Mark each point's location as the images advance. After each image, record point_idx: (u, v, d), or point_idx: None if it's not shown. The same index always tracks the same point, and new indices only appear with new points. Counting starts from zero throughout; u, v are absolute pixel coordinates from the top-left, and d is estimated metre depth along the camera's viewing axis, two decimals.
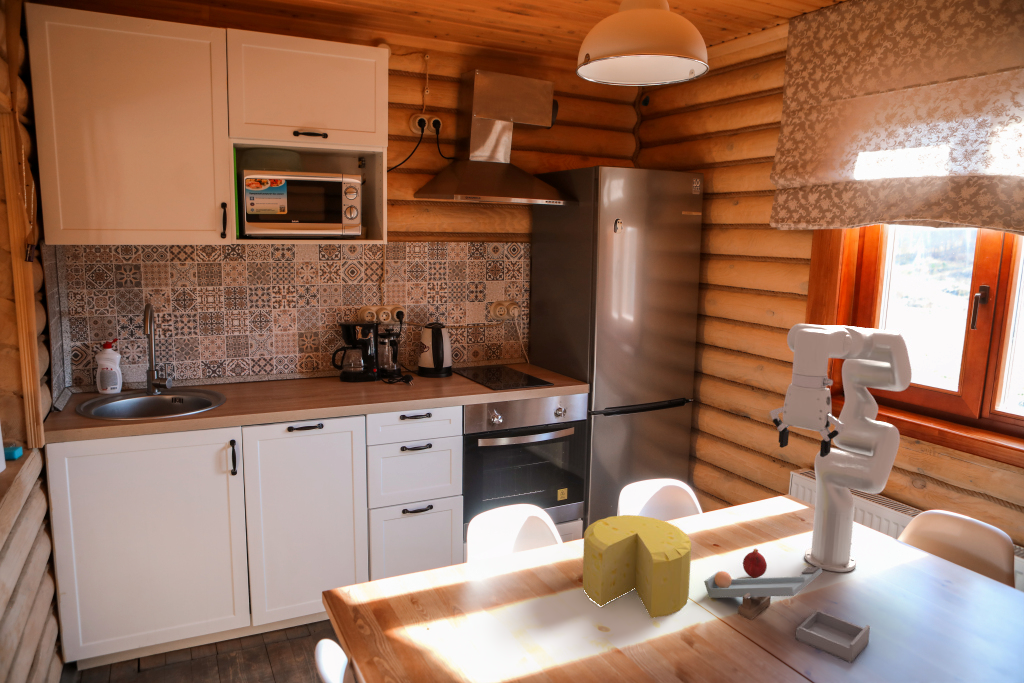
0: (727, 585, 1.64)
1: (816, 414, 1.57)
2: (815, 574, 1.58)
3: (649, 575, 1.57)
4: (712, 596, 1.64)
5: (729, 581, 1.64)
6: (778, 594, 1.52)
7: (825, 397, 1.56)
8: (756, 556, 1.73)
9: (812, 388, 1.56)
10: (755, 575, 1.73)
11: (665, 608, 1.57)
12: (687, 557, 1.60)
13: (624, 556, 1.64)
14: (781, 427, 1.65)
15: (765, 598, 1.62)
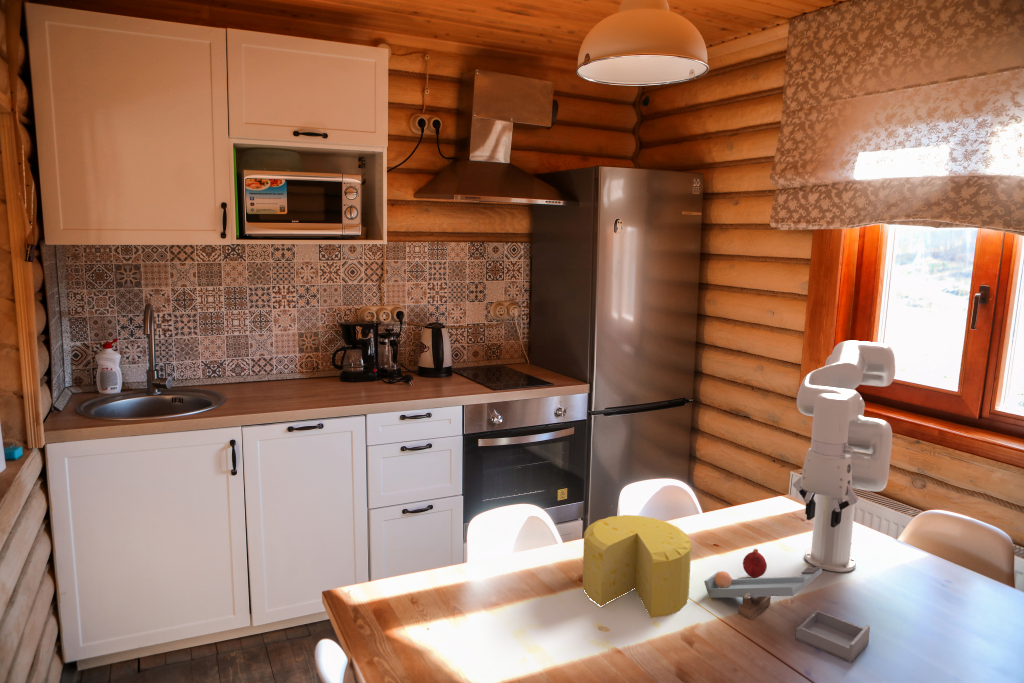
0: (727, 585, 1.64)
1: (836, 482, 1.53)
2: (815, 574, 1.58)
3: (649, 575, 1.57)
4: (712, 596, 1.64)
5: (729, 581, 1.64)
6: (778, 594, 1.52)
7: (846, 465, 1.53)
8: (756, 556, 1.73)
9: (832, 456, 1.53)
10: (755, 575, 1.73)
11: (665, 608, 1.57)
12: (687, 557, 1.60)
13: (624, 556, 1.64)
14: (807, 498, 1.60)
15: (765, 598, 1.62)
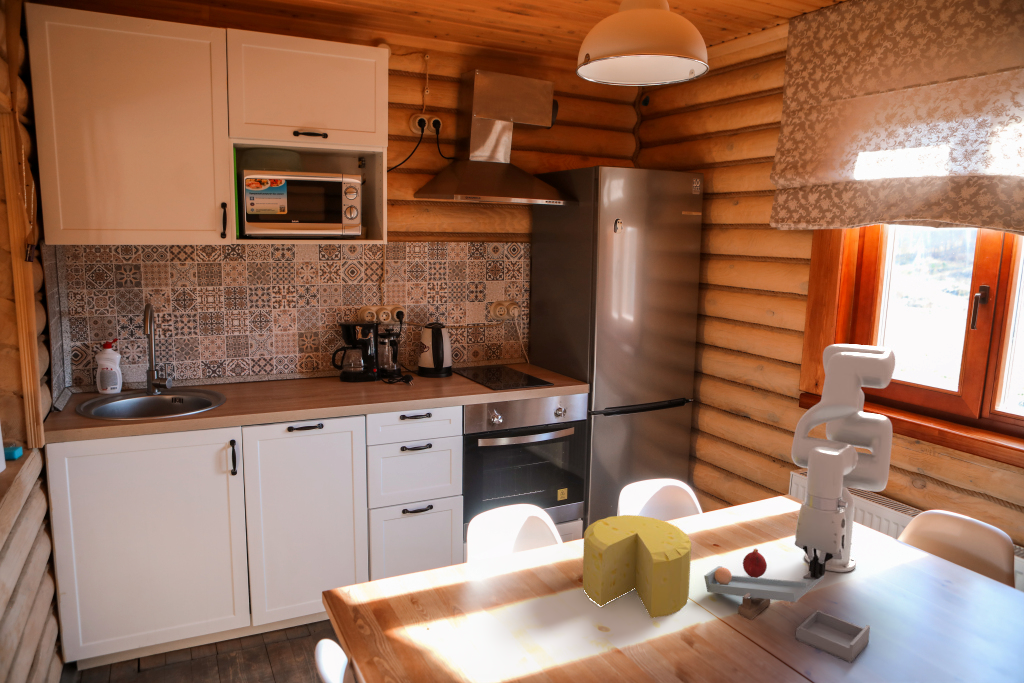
0: (727, 582, 1.64)
1: (831, 537, 1.53)
2: (817, 580, 1.58)
3: (649, 575, 1.57)
4: (711, 591, 1.65)
5: (729, 578, 1.64)
6: (779, 598, 1.52)
7: (840, 520, 1.53)
8: (756, 556, 1.73)
9: (827, 511, 1.53)
10: (755, 575, 1.73)
11: (665, 608, 1.57)
12: (687, 557, 1.60)
13: (624, 556, 1.64)
14: (810, 555, 1.58)
15: None
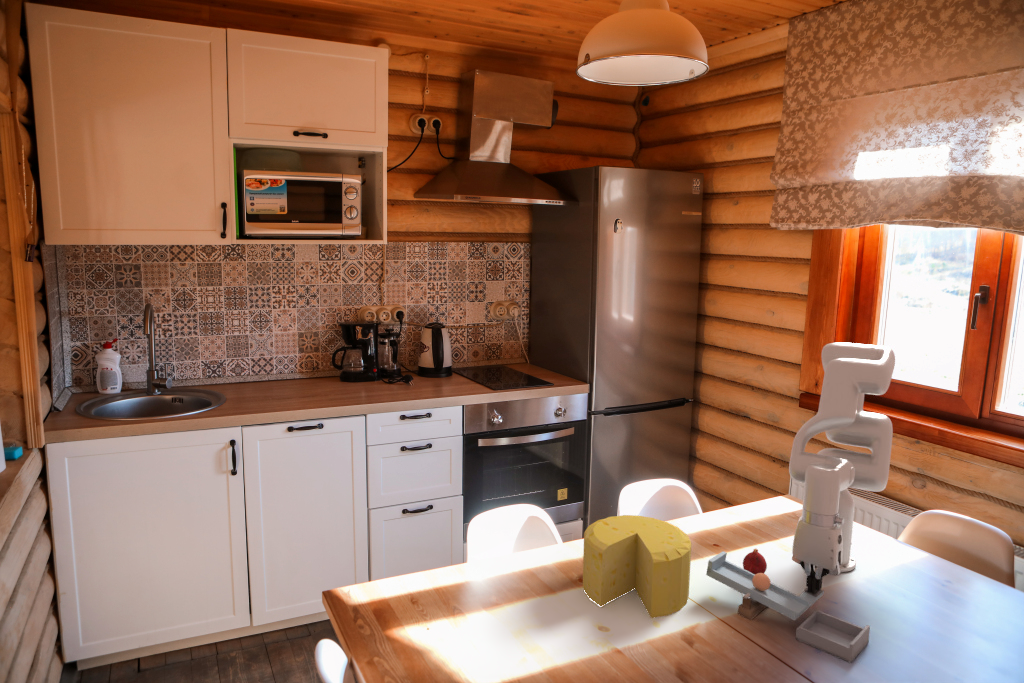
0: (763, 578, 1.57)
1: (827, 553, 1.54)
2: (817, 597, 1.58)
3: (649, 575, 1.57)
4: (710, 576, 1.64)
5: (761, 574, 1.58)
6: (779, 610, 1.52)
7: (836, 536, 1.53)
8: (756, 556, 1.73)
9: (823, 527, 1.53)
10: None
11: (665, 608, 1.57)
12: (687, 557, 1.60)
13: (624, 556, 1.64)
14: (807, 570, 1.59)
15: None
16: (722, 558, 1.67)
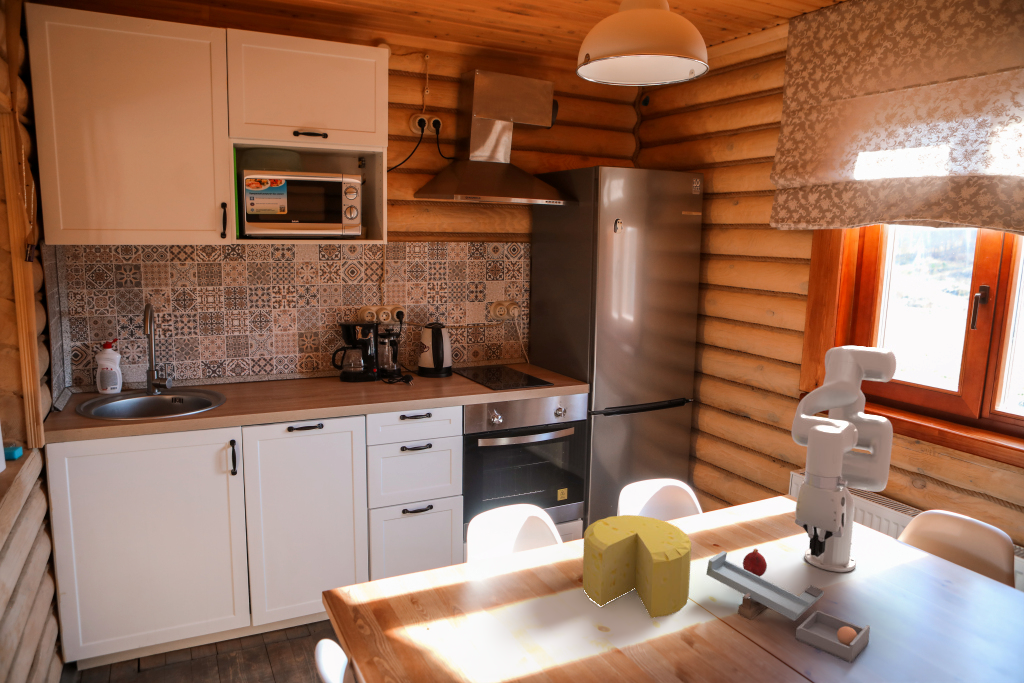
0: (837, 636, 1.46)
1: (830, 515, 1.53)
2: (817, 598, 1.59)
3: (649, 575, 1.57)
4: (710, 575, 1.64)
5: None
6: (779, 611, 1.52)
7: (840, 498, 1.52)
8: (756, 556, 1.73)
9: (826, 489, 1.52)
10: None
11: (665, 608, 1.57)
12: (687, 557, 1.60)
13: (624, 556, 1.64)
14: (810, 533, 1.58)
15: None
16: (722, 558, 1.67)
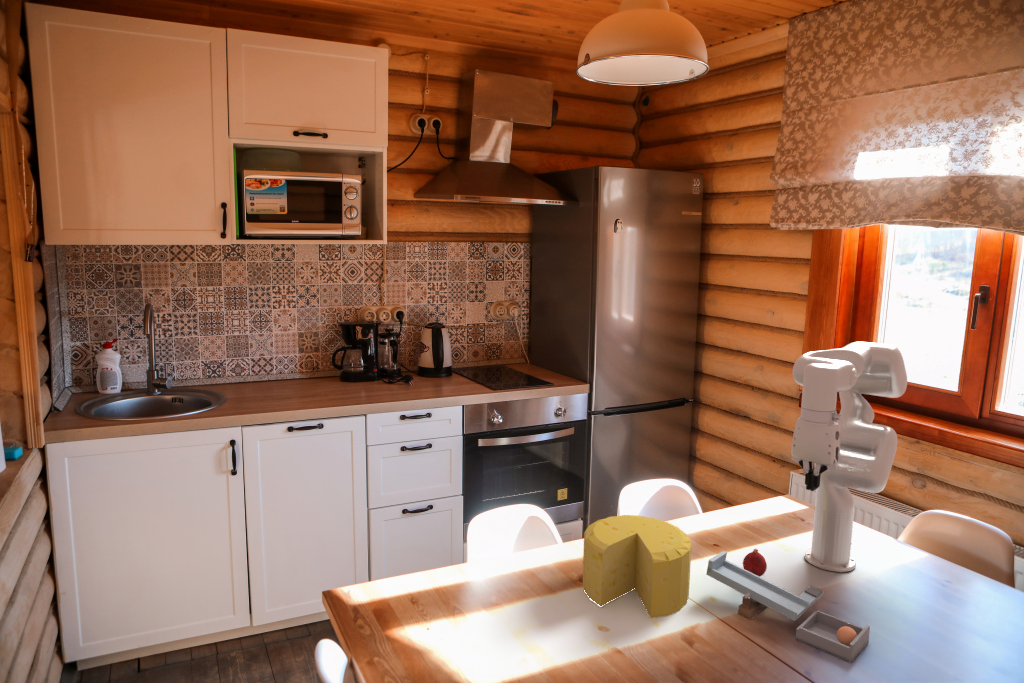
0: (837, 636, 1.46)
1: (825, 449, 1.58)
2: (817, 598, 1.59)
3: (649, 575, 1.57)
4: (710, 575, 1.64)
5: None
6: (779, 611, 1.52)
7: (834, 432, 1.58)
8: (756, 556, 1.73)
9: (821, 423, 1.58)
10: None
11: (665, 608, 1.57)
12: (687, 557, 1.60)
13: (624, 556, 1.64)
14: (806, 468, 1.63)
15: None
16: (722, 558, 1.67)
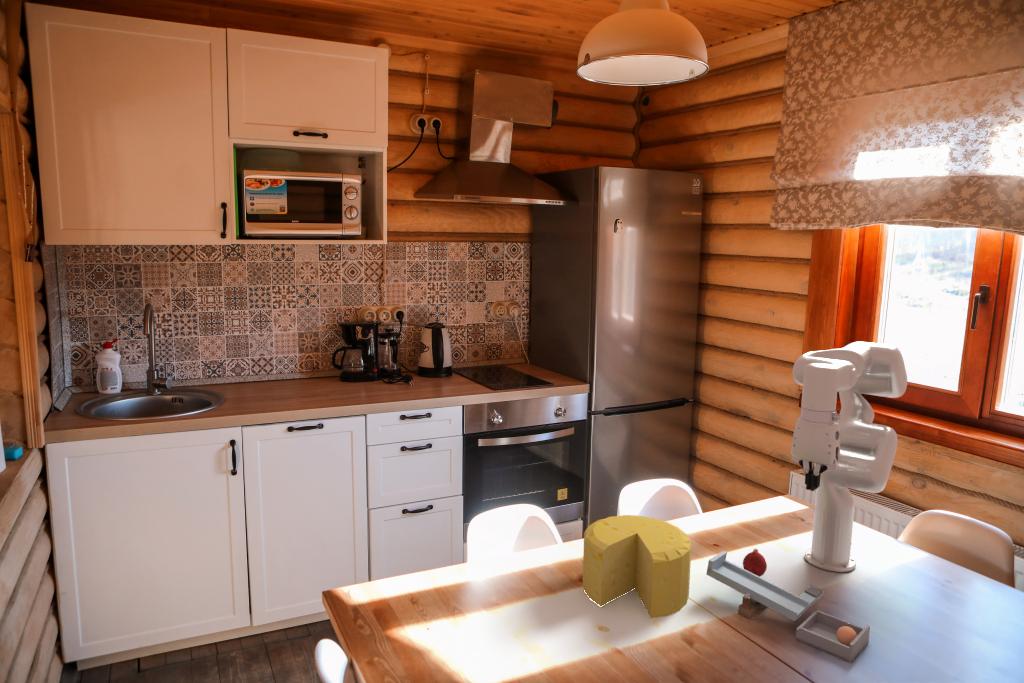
0: (837, 636, 1.46)
1: (825, 448, 1.58)
2: (817, 598, 1.59)
3: (649, 575, 1.57)
4: (710, 575, 1.64)
5: None
6: (779, 611, 1.52)
7: (834, 432, 1.58)
8: (756, 556, 1.73)
9: (821, 423, 1.58)
10: None
11: (665, 608, 1.57)
12: (687, 557, 1.60)
13: (624, 556, 1.64)
14: (806, 468, 1.63)
15: None
16: (722, 558, 1.67)
